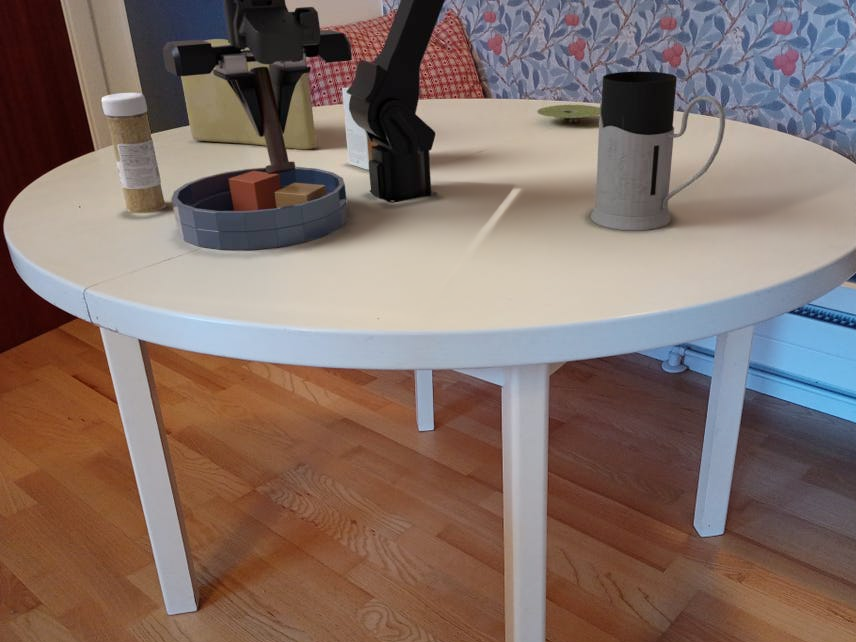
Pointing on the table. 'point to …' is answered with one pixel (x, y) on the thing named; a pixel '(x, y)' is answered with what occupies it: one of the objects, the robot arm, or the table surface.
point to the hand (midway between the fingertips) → (270, 134)
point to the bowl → (257, 213)
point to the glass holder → (639, 149)
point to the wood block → (299, 194)
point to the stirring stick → (271, 123)
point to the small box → (356, 138)
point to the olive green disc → (569, 111)
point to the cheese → (242, 111)
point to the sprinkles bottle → (134, 151)
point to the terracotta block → (254, 191)
